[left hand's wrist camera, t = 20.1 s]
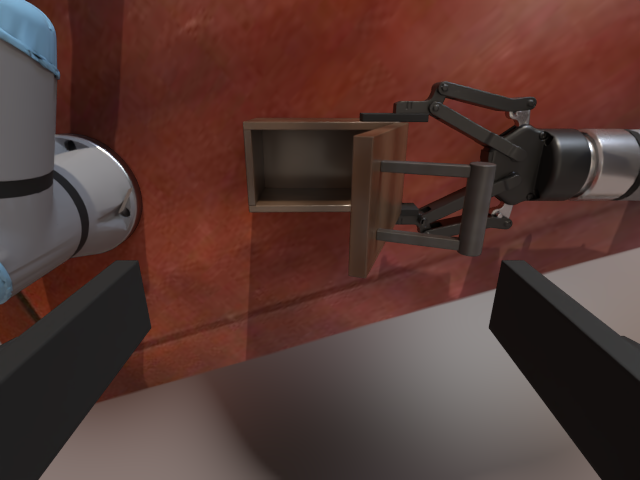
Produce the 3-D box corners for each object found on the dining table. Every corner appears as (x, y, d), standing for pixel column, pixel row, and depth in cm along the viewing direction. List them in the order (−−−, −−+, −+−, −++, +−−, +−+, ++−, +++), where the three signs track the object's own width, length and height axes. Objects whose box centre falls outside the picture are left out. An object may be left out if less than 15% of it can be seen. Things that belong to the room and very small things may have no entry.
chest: (260, 192, 47) (249, 212, 38) (255, 117, 43) (242, 121, 35) (378, 192, 47) (393, 211, 39) (383, 118, 44) (400, 122, 35)
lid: (348, 276, 24) (478, 297, 22) (352, 135, 21) (507, 140, 18) (389, 213, 38) (472, 221, 36) (395, 122, 35) (487, 124, 32)
